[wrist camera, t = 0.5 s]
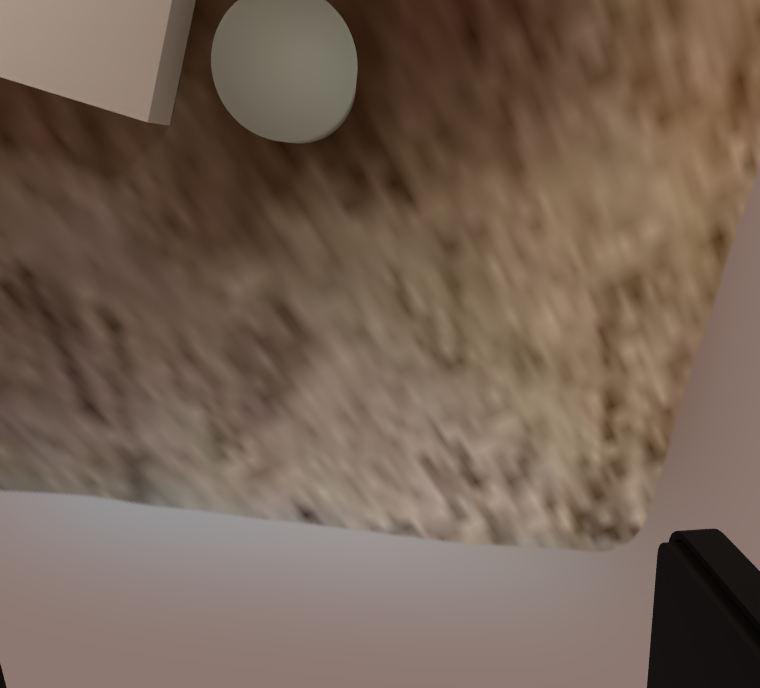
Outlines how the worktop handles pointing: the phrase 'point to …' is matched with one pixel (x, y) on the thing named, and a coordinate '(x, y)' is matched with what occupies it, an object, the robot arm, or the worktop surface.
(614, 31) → the worktop surface
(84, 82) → the cream socket block
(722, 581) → the robot arm
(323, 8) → the sage round peg
